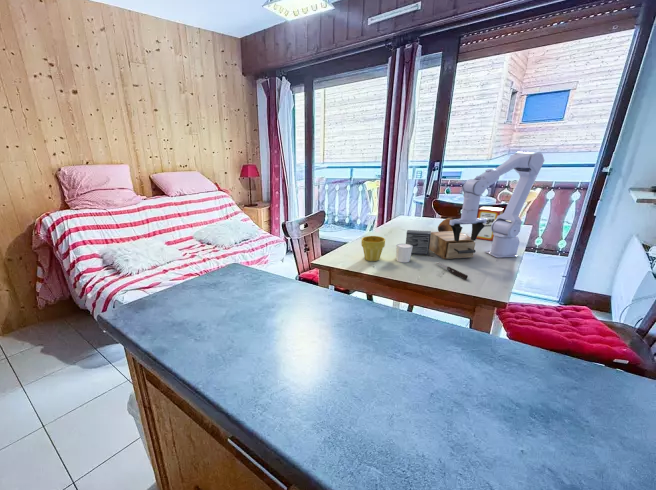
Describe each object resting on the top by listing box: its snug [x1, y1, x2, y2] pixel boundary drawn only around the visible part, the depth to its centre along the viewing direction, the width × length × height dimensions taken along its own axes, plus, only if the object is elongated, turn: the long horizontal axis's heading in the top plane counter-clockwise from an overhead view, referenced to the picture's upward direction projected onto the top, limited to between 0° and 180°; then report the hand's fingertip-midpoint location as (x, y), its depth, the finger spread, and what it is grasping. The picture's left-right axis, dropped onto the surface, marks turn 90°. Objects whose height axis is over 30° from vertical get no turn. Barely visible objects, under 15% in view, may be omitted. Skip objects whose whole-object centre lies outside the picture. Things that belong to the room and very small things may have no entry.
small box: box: [405, 229, 432, 256], centre depth 155 cm, size 11×6×10 cm, turn 65°
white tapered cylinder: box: [395, 243, 413, 263], centre depth 147 cm, size 7×7×7 cm
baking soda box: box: [476, 206, 504, 242], centre depth 168 cm, size 10×6×16 cm
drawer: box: [445, 241, 477, 260], centre depth 148 cm, size 18×11×7 cm, turn 1°
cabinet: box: [429, 231, 475, 260], centre depth 152 cm, size 15×13×9 cm
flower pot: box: [360, 235, 386, 262], centre depth 151 cm, size 10×10×10 cm
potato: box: [437, 217, 456, 232], centre depth 181 cm, size 8×13×8 cm
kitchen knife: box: [434, 262, 469, 281], centre depth 133 cm, size 18×1×2 cm, turn 12°
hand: (464, 240), depth 141 cm, fingers open, 7 cm apart
